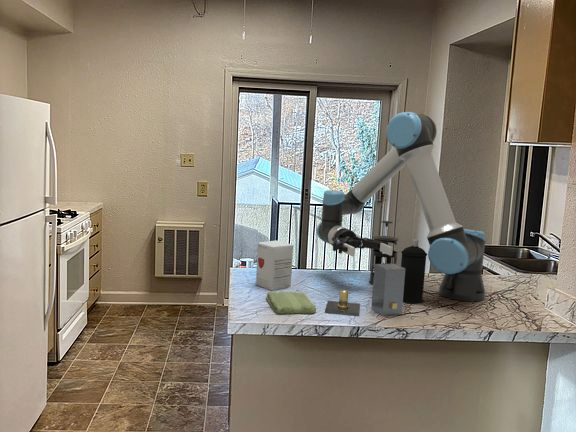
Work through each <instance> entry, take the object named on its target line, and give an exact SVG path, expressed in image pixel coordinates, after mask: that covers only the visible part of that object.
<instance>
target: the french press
mask: <svg viewBox="0 0 576 432" xmlns="http://www.w3.org/2000/svg"><path fill="white" fill-rule="evenodd" d="M380 222H381V223H383V224H385V235H375V236H373V238H372V239H373V240H378V241H385V242H388V243H390V244H394V245H395V246H398V241H399V238H398V237H395V236H388V235H387V233H388V227H389V224H394V222H393V221H389V220H382V221H380ZM371 250H372V251H371V266H370V274H369V276H370V277H369V282H368V283H369V284H370V285H372V286H373V279H374V266H375V264H392V258H393V263H394V264H396V265H397V259H398V258H397V257H398V251H397V250H393V251H392V256H390V255H388V254H385V253H383V252H381V251H380V250H376V249H371ZM385 258H386V261H385ZM382 260H383V262H382ZM385 262H386V263H385Z"/></svg>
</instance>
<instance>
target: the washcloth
mask: <svg viewBox="0 0 576 432" xmlns="http://www.w3.org/2000/svg"><path fill="white" fill-rule="evenodd" d="M266 295H267V296H265V300H266V301H267V302H268V304H269V306H271V308H272V310H273V311H274V312H275V313H276V314H277V315H293V314H302V315H304V314H310V315H311V314H313V315H314V314H316V312H317V308H316V305H315V303H314V302H312V301H311V299H310V298H308V296H307V294H305V292H295V291H280V292H276V291H272V290H270V291H267V294H266Z"/></svg>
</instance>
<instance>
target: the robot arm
mask: <svg viewBox="0 0 576 432" xmlns="http://www.w3.org/2000/svg"><path fill="white" fill-rule="evenodd" d="M436 125H437V124H436V123H435V121H434V120H433V119H432V118H431V117H430V116H429V115H428V116H427V115H425V114H421V113H420V114H419V113H415V112H414V111H413V112H412V111H403V112H399V113H396V114H395V115H394V116H393V117H392V118H390V120H389V121H388V123H387V125H386V129H385V137H386V140H387V142H388V143H389V144H390V146H392V148H391V149H390V150H389V151H388V152H387V153H386V154H385V155H384V156H383V157H382V158H381V159H380V160H379V161H378V162H377V163H376V164H375V165H374V166H373V167H372V168H371V169H370V170H369V171H368V172H367V173H366V174H365V175H364V176H363V177H362V178H361V179H360V180H359V181H357V183H356V184H355V185H354V186H353V187H352V188H351V189H350V190H349V191H348V192H346V194H345V192H344V191H342V190H336V189H335V190H334V189H331V190H330V189H329V190H328V189H327V190H325V191H324V192H323V196H322V197H323V199H322V213H321V221H320V223H318V225H317V227H316V235H317V237H318V238H319V239H320V240H321V241H323V242H324V243H326V244H329V245H331V246H332V251H333V252H336V251H337V250H338V253H337V254H341V255H342V254H343V253H345V254H347V255H348V256H350V257H355V255H356V253H355V251H356V249H360V250H362V249H363V250H364V249H371V250H373V249H376V250H380V251H381V252H382V253H383V254H384V253H385V254H388V255H390V256H392V251H393V248H394V247H393V246H390V245H389V242H385V241H378V240H374V238H368V237H364V238H363V237H359V236H357V234H356V233H355V231H354V230H351V229H348V228H347V227H344V226H342V224H343V216H345V215H355V214H358V213H359V212H362V211H363V209H364V207H365V205H366V204H367V202H368V201H370V199H371V198H372V197H374V195H375V194H376V193H377V192H379V190H381V189H382V188H383V187H384V186H385V185H386V184H387V183H388V182H389V181H391V179H392V178H393V177H394V176H395V175H397V174H398V173H399V172H400V171H401V170H402V169H403V168H404V167H405V166H406V167H407V169H408V172H409V176H410V178H411V181H412V184H413V187H414V189H415V193H416V196H417V199H418V201H419V204H420V206H421V210H422V213H423V215H424V219H425V221H426V224H427V227H428V233H427V236H426V238H427V241H428V244H429V247H428V253H427V257H428V261H429V264H431V266H432V267H433V268H434V269H435V270H436V271H437V272H439V273H442V274H444V275H443V278H442V279H441V282H440V285H439V287H438V294H439V295H441V296H442V297H445V298H448V299H451V300H456V301H463V302H481V301H483V300H485V298H486V289H485V285H484V280H483V277H482V275H483V265H484V255H485V247H486V241H487V240H486V233H485V232H484V231H481V230H474V229H468V228H467V229H466V228H464V227H463V225H461V224H459V223H458V222H457V221H456V219H455V217H454V216H455V215H454V213H453V210H452V206H451V205H450V201H449V199H448V196H447V193H446V191H445V188H444V185H443V182H442V179H441V176H440V173H439V171H438V167H437V165H436V163H435V160H434V158H433V154H432V151H433V149H434V147H435V145H434V142H435V140H436V137H437V129H438V128H437V126H436Z"/></svg>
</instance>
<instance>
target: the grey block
mask: <svg viewBox="0 0 576 432" xmlns="http://www.w3.org/2000/svg"><path fill="white" fill-rule="evenodd" d="M374 264H375V263H374ZM373 272H374V279H373V285H372V294H371V295H372V296H371V308H370V309H371V310H372V311H373V312H375V313H377V314H379V315H380V316H382V317H385V316H397V315H398V316H399V315H402V314H403V303H404V302H403V293H404V280H405V268H403V267H401V265H398V264H397V263H396V264H394V262H393V263H391V264H386V263H385V264H383V263H381V264H375V266H374V268H373Z"/></svg>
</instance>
